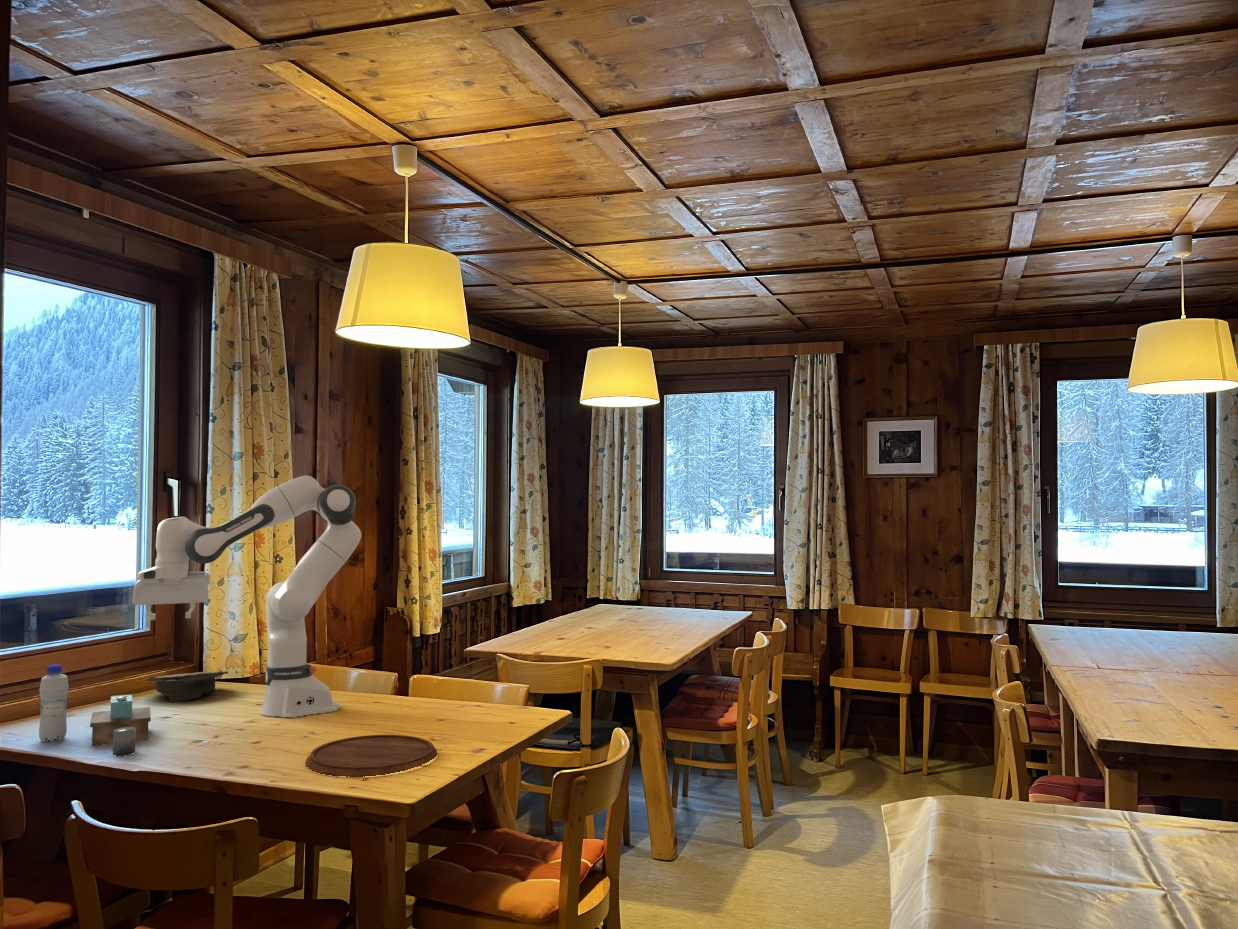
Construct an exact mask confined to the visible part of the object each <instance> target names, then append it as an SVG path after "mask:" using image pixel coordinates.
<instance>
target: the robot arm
mask: <svg viewBox="0 0 1238 929" xmlns="http://www.w3.org/2000/svg"><path fill="white" fill-rule="evenodd" d="M356 503H357V502H356V496H355V493H354V492H353V491H352V490H351V489H350V488H349V487H347V486H345V485H342V484H334V485H331V486H328V487H327V488H323V487H322V486H321V485H320V483H319V481H317V479H315V478H314V477H312V475H311V476H310V475H302V476H299V477H295V478H292V479H290V480H287V481H285V482H283V483H281V484H279V485H277V486H275V487H273V488H271V489H270V490H268V491H266V492H265V493H263V494H262V495H261V496H260V497H258V498H257V499H256V501H255V502H254V503H253V505H251V507H249V508H248V509H247V510H246V511H244V512H243V513H241V514H240V515H238V516H235V517H233V518H232V519H230V520H229V521H226V522H224V523H223V524H220V525H218V526H215V527H206V526H205V525H200V524H199V523H196V522H194V521H192V520H190V519H188V518H187V517H186V516H178V517H177V516H175V517H171V518H166V519H164V520H163V519H162V521H160V523H158V526H157V529H156V530H157V531H156V537H155V538H156V539H155V550H156V558H155V563H154V564H155V565H154V566H153V567H149V568H146V569H142V570H140V571H139V572H138V573H137V577H138V580H137V581H136V582H135V584H134V586H133V587H134V589H133V592H132V604H133V605H135V606H145V610H146V612H147V613H148V615H149V621H156V613H153V612H152V610H151V609H152V605H154V606H155V605H173V604H174V605H175V604H189V606H190V608H189V610H188V611H186V612H185V617H184V618H185V619H192V613H193V611H194V610H195V608H196V606H197V605H196V604H197V603H207V602H208V601H209V599H210V598H209V597H210V595H209V585H210V584H211V575H210V574H209V573H208V572H206V571H203V570H201V571H193V570H192V571H189V560H192V562H195V563H197V564H210V563H212V562H213V563H214V562H215V561H216V560H218V559H219V558H220V557H221V555H222V554H223V553H224V552H225V550H226V549H227V548H228V547H229V546H231V545H233V544H234V543H236V542H238V541H239V540H241V539H243V538H245V537H247V536H248V535H249V536H250V535H251V534H252V533H254V532H256V531H259V530H262V529H266V528H271V527H274V526H277V525H280V524H282V523H286V522H288V521H290V520H293V519H294V518H296V517H298V516H300V515H302V514H303V513H305V512H308V511H313V512H314V513H315V514H317V515H318V517H319V518H321V519H322V520H323V521H324V522H326V523H327V525H326V528H325V530H324V532H323V533H322V534H321V535H320V536H319V537H318V539H317V540H316V541H315V542H314V543H313V544H312V545H311V547H310V548H309V549H308V550H307V551H306V552H305V553H304V555H303V556H302V557H301V558H300V559H299V561H298V562H297V565H296V566H295V567H294V569H293V570H292V572H291V574H289V576H288V578H287V579H286V580H284V581H279V582H277V583H275V584H274V585H272V587H270V588H269V590H268V592H267V593H266V594H267V595H266V600H265V603H266V625H267V628H266V629H267V641H268V642H267V665H266V667H265V685H266V688H265V696H264V700H263V706H262V709H261V711H260V713H261V715H263V716H266V717H267V716H268V717H275V716H280V717H279V718H285V717H293V718H298V717H297V716H300V717H304V716H303V715H307V716H310V715H309V714H314V715H317V714H316V713H321V714H327V713H334V712H337V711H339V710H340V704H339V703H338V701H335V700H333V697H332V691H331V689H330V687H329V686H328V685H327V684H325V683H324V682H323V681H321V680H320V679H318V678H317V677H315V676H314V675H313V674H315V673H316V672H317V671H318V669H317V667H316V666H315V665H311V664H309V663H307V642H308V638H307V632H306V622H305V617H306V616H307V615H308V614H309V613H310V611H311V609H312V607H313V606H314V604H315V603H317V602H316V601H317V600H318V599H319V598H320V596H321V594H322V593H323V591H324V589H325V588H326V586H327V585H328V584H329V582H330V581H331V580H332V579H333V578H334V576H336V574H337V573H338V572H339V570H340V569H341V568H343V565H345V563H346V562H347V561H348V560H349V559H350V557H351V556H352V554H353V553H354V551H355V550H356V548H357V547H358V545H359V543H360V542H361V539H362V531H361V530H360V528H359V526H358V525H357V524H356V523H355V522H354V521H353V519H354V514H355V510H356ZM338 709H339V710H338ZM333 711H334V712H333ZM326 712H327V713H326ZM281 716H282V717H281Z"/></svg>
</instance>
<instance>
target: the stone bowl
mask: <svg viewBox="0 0 1238 929" xmlns="http://www.w3.org/2000/svg"><path fill="white" fill-rule="evenodd" d="M228 673H229V670H228V671H205V672H204V671H199V672H192V673H189V672H188V673H177V674H171V675H161V676H151V677H147V678H145V680H144V681H145V682H155V690H156V692H157V693H160V694H161V695H163V696H168V700H169V701H170V702H171V703H179V702H180V703H183V702H185V701H189V700H192V699H199V698H201V697H203V696H207V697H209V696H212V695H214V694H215V691H216V678H217V677H220V676H222V675H225V674H228ZM177 701H179V702H177ZM182 701H183V702H182Z"/></svg>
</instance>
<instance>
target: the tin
mask: <svg viewBox="0 0 1238 929" xmlns="http://www.w3.org/2000/svg"><path fill="white" fill-rule="evenodd" d="M136 742H137V741H136V728H134V727H124V728H118V729H115V730H114V731H113V744H112V756H113V755H116V756H115V757H125V756H124V755H127V756H130V755H129V754H132V753H134V752H135V753H136ZM135 753H134V754H135ZM132 755H133V754H132Z"/></svg>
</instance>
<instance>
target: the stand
mask: <svg viewBox="0 0 1238 929" xmlns="http://www.w3.org/2000/svg"><path fill="white" fill-rule="evenodd" d="M151 715H152V714H151V707H150V706H145V707H134V708H133V707H132V718H125V719H115V720H110V718H111V710H103V711H92V713H91V718H90V723H89V728H91V729H92V731H91V736H92V737H91V746H92V747H95V745H97V746H104V745H103V744H106V745H113V731H114V730H115V729H118V728H124V727H134V728H136V741H135V742H140V740H144V741H149V722H151V719H152V718H151V717H152V716H151Z"/></svg>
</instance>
